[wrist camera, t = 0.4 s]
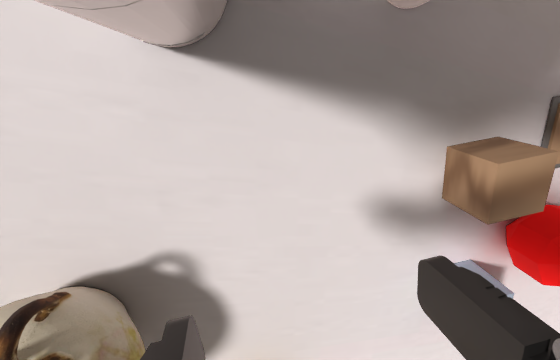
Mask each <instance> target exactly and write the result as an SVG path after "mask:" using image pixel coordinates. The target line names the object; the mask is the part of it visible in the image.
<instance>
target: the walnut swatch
mask: <svg viewBox="0 0 560 360" xmlns="http://www.w3.org/2000/svg"><path fill="white" fill-rule="evenodd" d="M541 147H543V148H547V149H551V150H556V151H559V154H558V158H557V162H556V165H555V168H559V167H560V96H557V97H553V98H552V102H551V106H550V110H549V115H548V119H547V123H546V127H545V132H544V136H543V140H542V144H541Z"/></svg>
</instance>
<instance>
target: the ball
mask: <svg viewBox="0 0 560 360" xmlns="http://www.w3.org/2000/svg"><path fill="white" fill-rule="evenodd" d="M506 236H507V247H508V250H509V252H510V255H511V258H512V261H513V264H514V266H516V267H517V268H519V269H520V270H522V271H523V272H525V273H526V274H528V275H529V276H531V277H532V278H534V279H535V280H537V281H538V282H540V283H541V284H543V285H550V286H560V206H555V205H545V207H544V211H543V212H538V213H534V214H530V215H526V216H522V217H520V218H518V219H517V220H515V221H514V222H512V223H510V224H509V225H507V226H506Z"/></svg>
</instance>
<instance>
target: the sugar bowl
mask: <svg viewBox="0 0 560 360" xmlns="http://www.w3.org/2000/svg"><path fill="white" fill-rule="evenodd" d="M145 352H146V351H145V348H144V344H143V341H142V339H141V336H140V334H139V332H138V330H137V328H136V326H135V325H134V323H133V322H132V320H131V318H130V317H129V315H128V313H127V310H126V308H125V307H124V305H123V304H122V303H121V302H120V301H119V300H118V299H117V298H116V297H114V296H113V295H111V294H110V293H108V292H105V291H102V290H99V289H94V288H89V287H69V288H62V289H59V290H56V291H53V292H48V293H43V294H39V295H35V296H32V297H28V298H25V299H21V300H18V301H14V302H12V303H9V304H7V305H5V306H2V307H0V360H140V359H141V357H142V356H143V354H144V353H145Z"/></svg>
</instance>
